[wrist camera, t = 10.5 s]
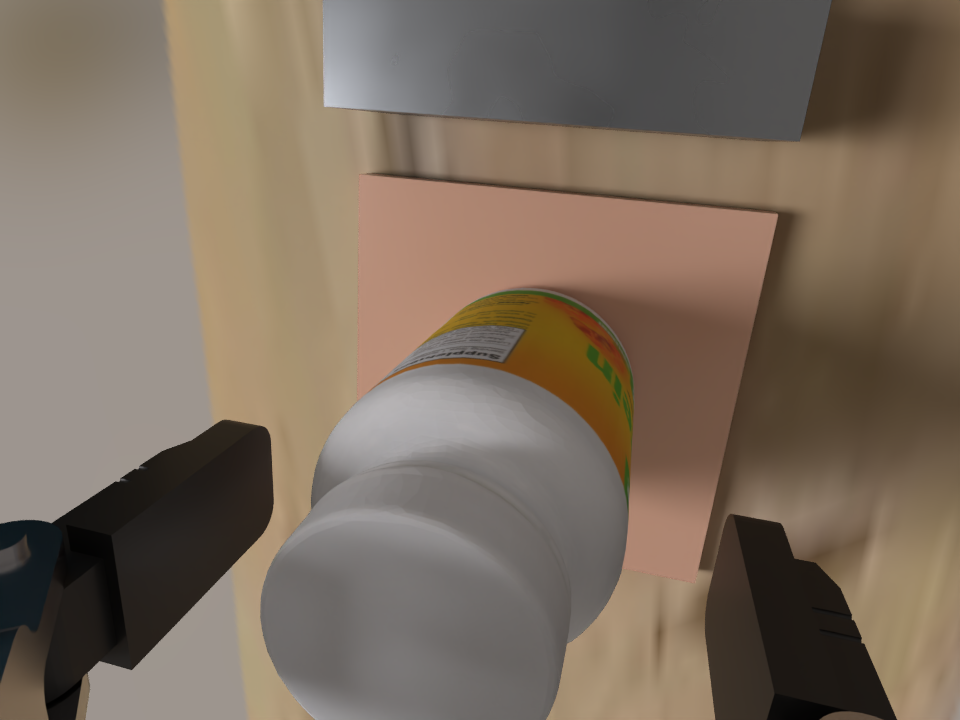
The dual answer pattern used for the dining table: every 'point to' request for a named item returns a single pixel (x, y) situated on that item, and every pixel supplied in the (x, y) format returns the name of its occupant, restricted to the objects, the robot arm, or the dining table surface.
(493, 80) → the bench vise
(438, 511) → the supplement bottle
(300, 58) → the dining table surface
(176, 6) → the dining table surface
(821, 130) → the dining table surface
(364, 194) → the terracotta tile
